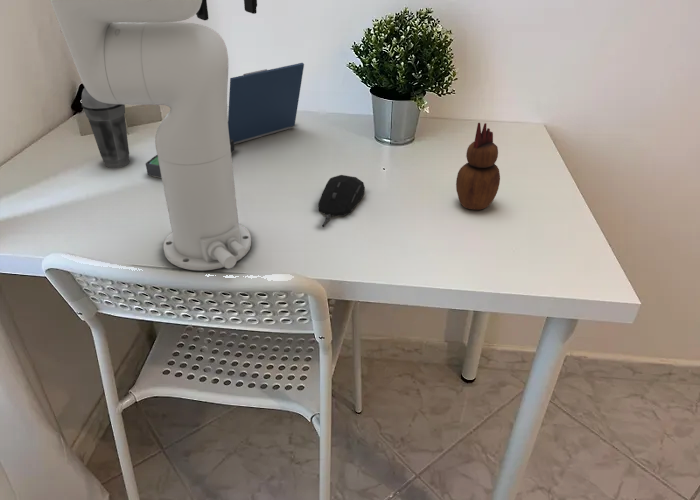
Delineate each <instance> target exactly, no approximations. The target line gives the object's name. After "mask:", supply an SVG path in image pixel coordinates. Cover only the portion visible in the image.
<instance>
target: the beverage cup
mask: <svg viewBox="0 0 700 500" xmlns="http://www.w3.org/2000/svg"><path fill="white" fill-rule="evenodd" d="M83 87H84V86H83ZM81 108H82V109H83V113H84V114H85V116H86V118H87V119H88V123H89V125H90V128H91V131H92V134H93V137H94V140H95V143H96V145H97V149H98V151H99V154H100V157H101V159H102V161H103V164H104V166H105V167H106V168H110V169H118V168H122V167H125V166H127V165H129V164H130V162H131V161H130V149H129V148H130V147H129V141H128V133H127V132H128V131H127V123H126V116H125V113H126V105H123V104H108V103H103V102H100V101H98V100H96V99H94V98H93V97H92V96H91V95H90V94H89V93H88V91H87V90H86V88H85V87H84V88H83V89H82V92H81Z"/></svg>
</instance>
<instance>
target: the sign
mask: <svg viewBox="0 0 700 500" xmlns="http://www.w3.org/2000/svg"><path fill="white" fill-rule="evenodd" d="M304 69H305V64H304V63H303V62H299V63H293V64H290V65H285V66H279V67H276V68H271V69H267V68H266V69H260V70H255V71H251V72H246V73H243V74H242V75H238V76H234V77H233V76H232V77H230V78H229V92H228V93H229V94H228V110H227V116H228V130H229V139H233V140H234V145H237V144H240V143H244V142H249V141H252V140H255V139H259V138H262V137H265V136H269V135H272V134H276V133H279V132H283V131H286V130H290V129H291V128H292V127H294V126H295V125H296V119H297V113H298V107H299V101H300V100H299V99H300V94H301V88H302V81H303V76H304V75H303V73H304Z"/></svg>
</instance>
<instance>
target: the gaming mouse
mask: <svg viewBox="0 0 700 500" xmlns="http://www.w3.org/2000/svg"><path fill="white" fill-rule="evenodd" d="M365 190H366V188H365V183H364V182H363V181H362V180H361V179H359V178H358V177H357V176H351V175H345V174H339V175H336V176H332V177H330V178H329V179H328V181H327V182H326V184H325V186H324V189H323V190H322V193H321V195H320V198H319V201H318V205H317V207H318V211H319V212H320V213H322V214H324V215H326V216H325V218H324V221H323V223H322V224H321V227H322V228H325V227H326V224H327V222H329V221H330V219H331V217H344V216H346V215H348V214H351V212H352V211H353V210H354V209H355V207H356V206H357V205H358V203H359V202H361V200H362V198H363V197H364V195H365V192H366V191H365Z"/></svg>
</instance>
